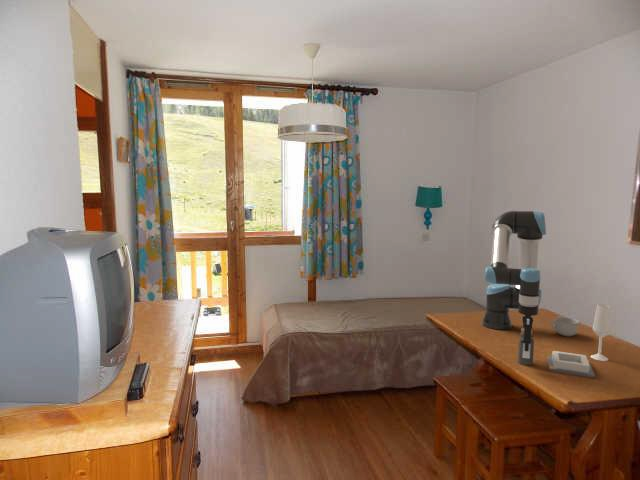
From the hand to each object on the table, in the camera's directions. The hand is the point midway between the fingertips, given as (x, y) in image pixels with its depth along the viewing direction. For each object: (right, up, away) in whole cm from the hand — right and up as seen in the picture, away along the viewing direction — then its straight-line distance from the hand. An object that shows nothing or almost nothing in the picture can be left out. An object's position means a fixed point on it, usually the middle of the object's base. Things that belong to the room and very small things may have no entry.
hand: (525, 352), depth 183 cm
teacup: (+37, -1, +37) cm, 52 cm away
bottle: (0, -5, +1) cm, 5 cm away
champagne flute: (+36, -4, +6) cm, 36 cm away
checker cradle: (+17, -5, -4) cm, 18 cm away
